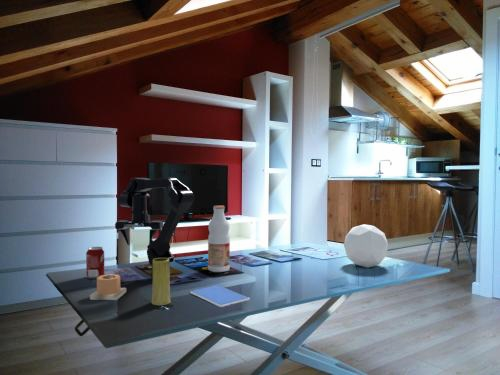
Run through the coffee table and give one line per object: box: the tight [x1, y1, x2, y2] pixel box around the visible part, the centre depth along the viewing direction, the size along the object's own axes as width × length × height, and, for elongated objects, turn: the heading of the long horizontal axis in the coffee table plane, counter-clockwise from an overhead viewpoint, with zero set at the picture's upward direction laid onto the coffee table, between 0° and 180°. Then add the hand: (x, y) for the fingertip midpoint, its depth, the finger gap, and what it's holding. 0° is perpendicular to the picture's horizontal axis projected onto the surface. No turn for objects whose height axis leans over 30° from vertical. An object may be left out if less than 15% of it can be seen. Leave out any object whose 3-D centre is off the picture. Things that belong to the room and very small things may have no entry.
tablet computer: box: [189, 285, 251, 308], centre depth 137 cm, size 19×13×1 cm, turn 39°
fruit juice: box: [207, 205, 231, 273], centre depth 174 cm, size 9×9×28 cm
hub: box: [96, 273, 121, 295], centre depth 137 cm, size 7×7×5 cm
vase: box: [151, 258, 172, 307], centre depth 130 cm, size 6×6×14 cm
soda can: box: [85, 246, 105, 280], centre depth 161 cm, size 7×7×12 cm
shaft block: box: [89, 276, 127, 301], centre depth 137 cm, size 9×9×6 cm
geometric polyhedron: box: [343, 223, 389, 269], centre depth 183 cm, size 19×20×20 cm
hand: (139, 245), depth 167 cm, fingers open, 9 cm apart
